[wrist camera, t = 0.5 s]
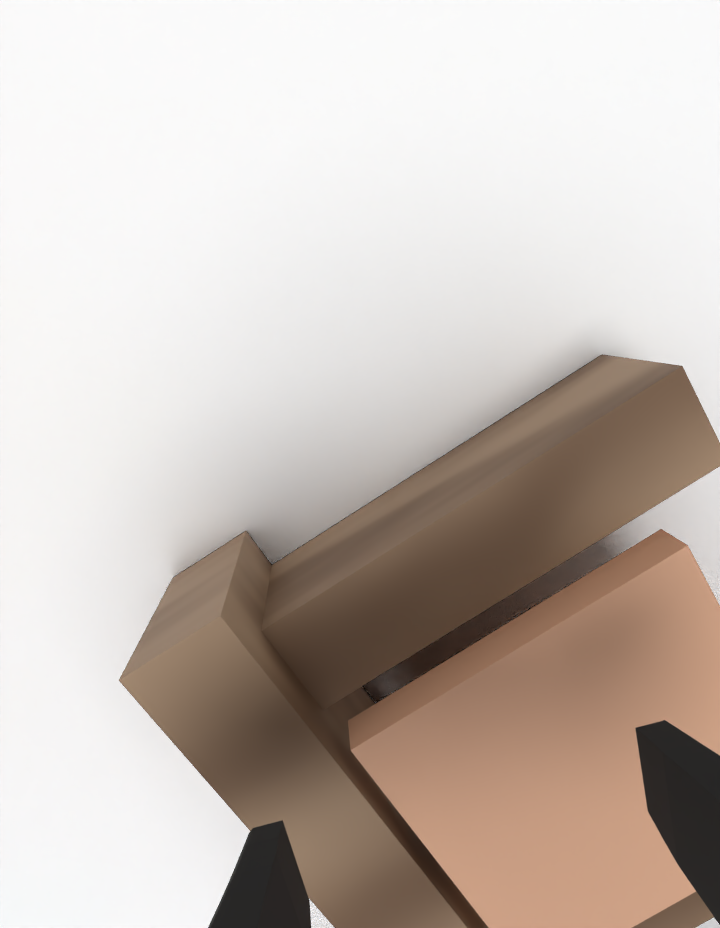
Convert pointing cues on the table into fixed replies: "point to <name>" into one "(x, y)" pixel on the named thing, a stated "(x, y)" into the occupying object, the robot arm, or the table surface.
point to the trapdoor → (556, 744)
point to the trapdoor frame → (400, 624)
